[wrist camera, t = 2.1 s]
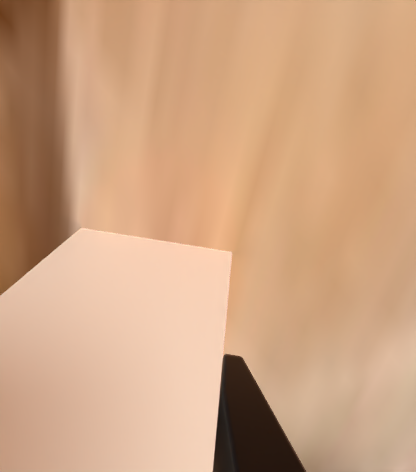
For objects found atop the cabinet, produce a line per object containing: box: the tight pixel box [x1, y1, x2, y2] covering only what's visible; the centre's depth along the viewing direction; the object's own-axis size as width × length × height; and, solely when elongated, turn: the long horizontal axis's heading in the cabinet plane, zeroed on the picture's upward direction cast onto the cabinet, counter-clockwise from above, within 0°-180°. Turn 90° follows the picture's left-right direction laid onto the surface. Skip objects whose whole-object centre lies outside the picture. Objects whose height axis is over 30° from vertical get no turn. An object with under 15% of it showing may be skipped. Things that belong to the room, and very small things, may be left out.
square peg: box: [0, 228, 232, 472], centre depth 6 cm, size 4×4×9 cm
